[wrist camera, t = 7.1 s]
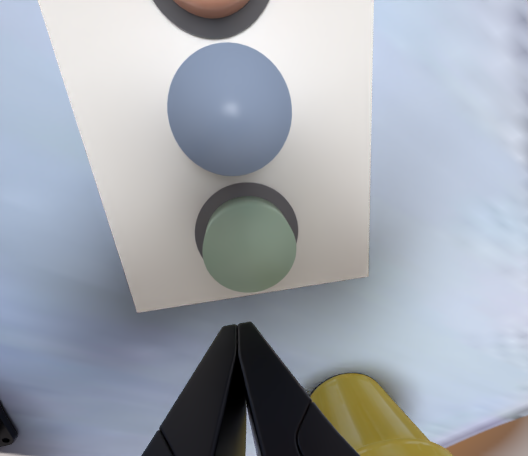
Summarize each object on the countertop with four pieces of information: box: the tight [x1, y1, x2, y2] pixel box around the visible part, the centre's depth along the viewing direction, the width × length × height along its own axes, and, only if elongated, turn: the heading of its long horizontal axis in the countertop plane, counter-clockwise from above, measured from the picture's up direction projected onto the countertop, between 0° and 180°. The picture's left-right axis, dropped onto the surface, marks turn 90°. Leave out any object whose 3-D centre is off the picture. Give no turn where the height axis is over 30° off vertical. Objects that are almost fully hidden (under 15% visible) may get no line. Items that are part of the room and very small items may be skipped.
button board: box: [38, 0, 374, 313], centre depth 15 cm, size 20×14×2 cm
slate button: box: [167, 42, 292, 176], centre depth 11 cm, size 4×4×2 cm
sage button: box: [202, 196, 296, 293], centre depth 14 cm, size 4×4×2 cm
